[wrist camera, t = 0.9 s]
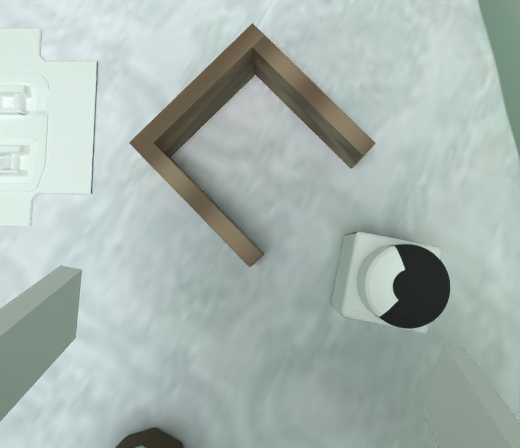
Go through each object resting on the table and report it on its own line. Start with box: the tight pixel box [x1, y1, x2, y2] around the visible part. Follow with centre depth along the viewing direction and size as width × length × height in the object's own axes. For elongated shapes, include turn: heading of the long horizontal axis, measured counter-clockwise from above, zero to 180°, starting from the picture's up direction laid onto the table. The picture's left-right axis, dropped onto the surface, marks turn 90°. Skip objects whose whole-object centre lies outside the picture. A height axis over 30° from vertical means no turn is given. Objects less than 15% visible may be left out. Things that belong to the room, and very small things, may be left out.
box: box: [129, 23, 375, 267], centre depth 41 cm, size 15×15×6 cm
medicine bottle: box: [331, 232, 450, 333], centre depth 37 cm, size 7×7×12 cm
